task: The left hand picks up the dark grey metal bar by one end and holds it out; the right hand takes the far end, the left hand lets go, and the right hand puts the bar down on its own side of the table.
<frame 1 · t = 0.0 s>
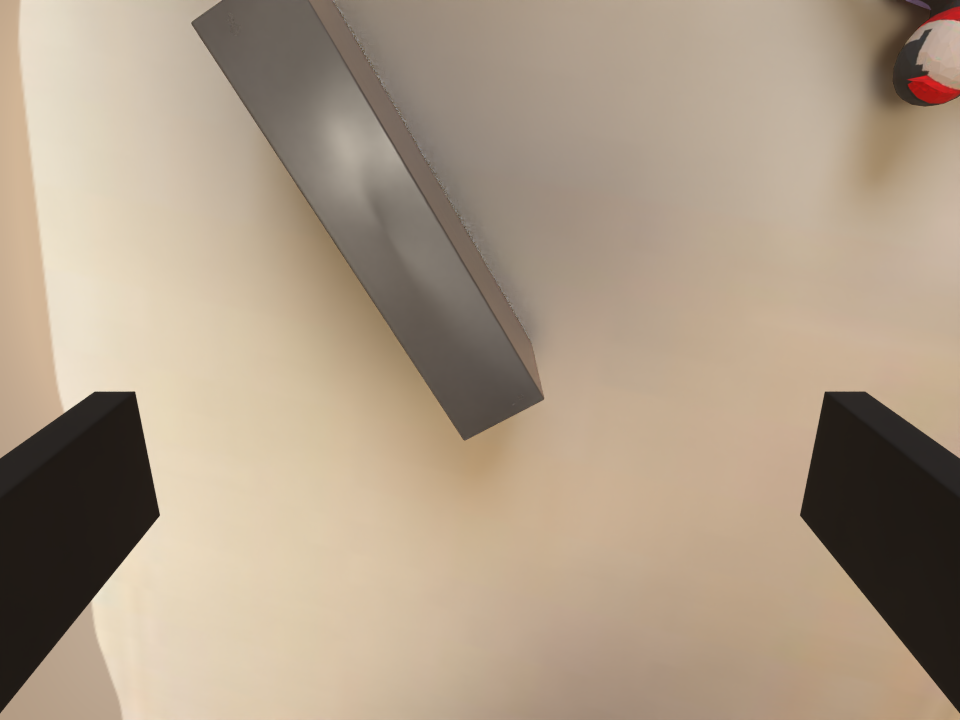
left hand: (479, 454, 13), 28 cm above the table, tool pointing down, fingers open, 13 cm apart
bar: (405, 206, 38), on the table
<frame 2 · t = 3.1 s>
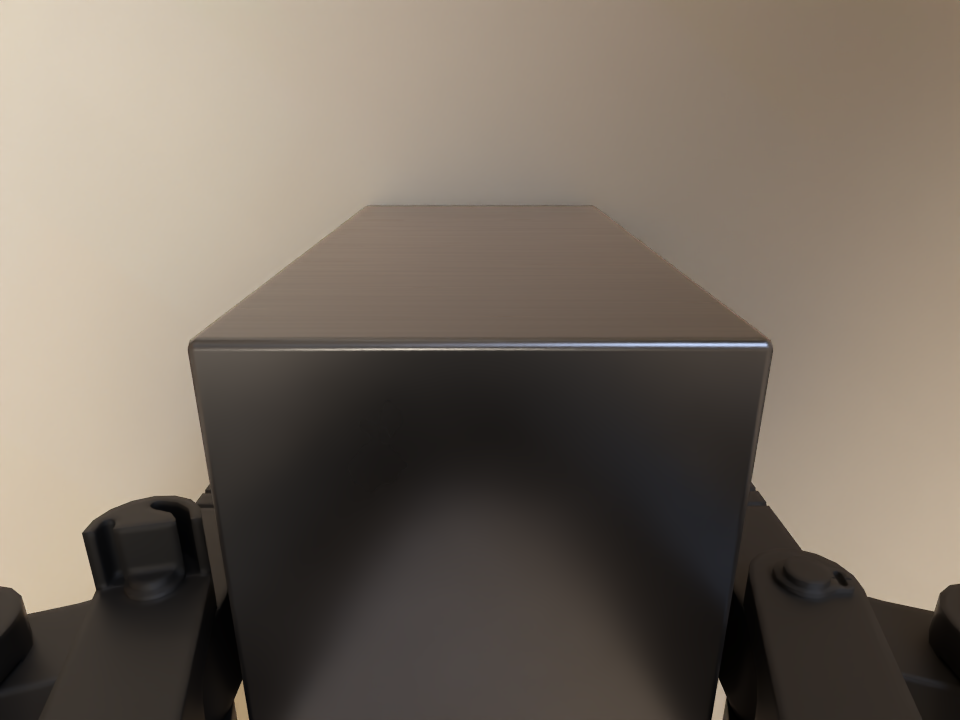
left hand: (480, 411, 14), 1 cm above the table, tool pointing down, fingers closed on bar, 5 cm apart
bar: (480, 637, 17), on the table, touching left hand
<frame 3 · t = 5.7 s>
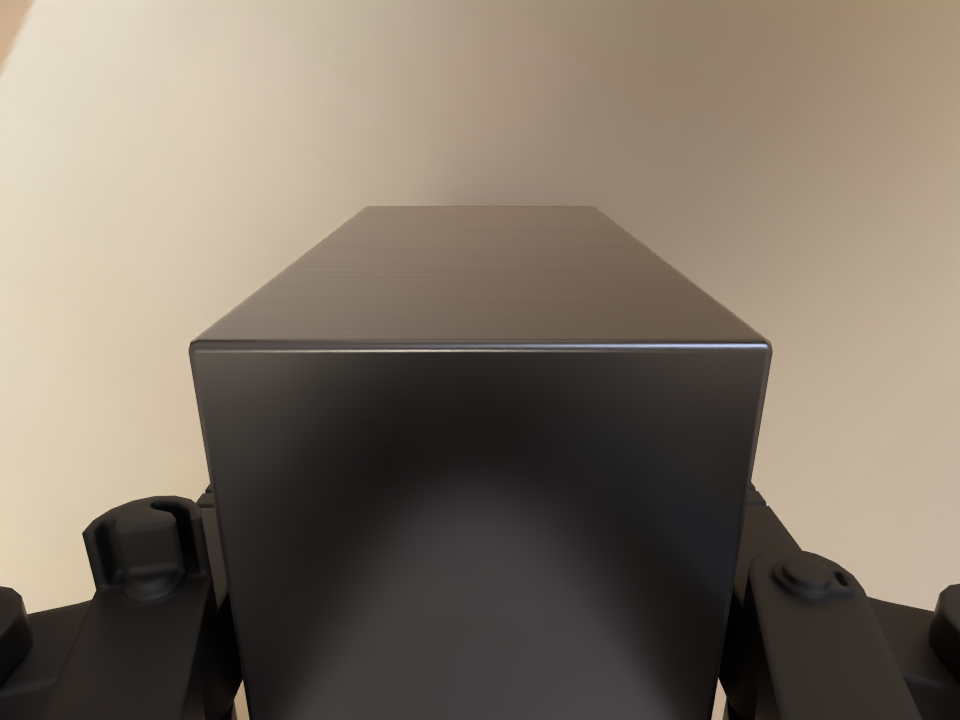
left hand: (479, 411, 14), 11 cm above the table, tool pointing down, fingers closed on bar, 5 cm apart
bar: (480, 637, 17), point 10 cm above the table, touching left hand
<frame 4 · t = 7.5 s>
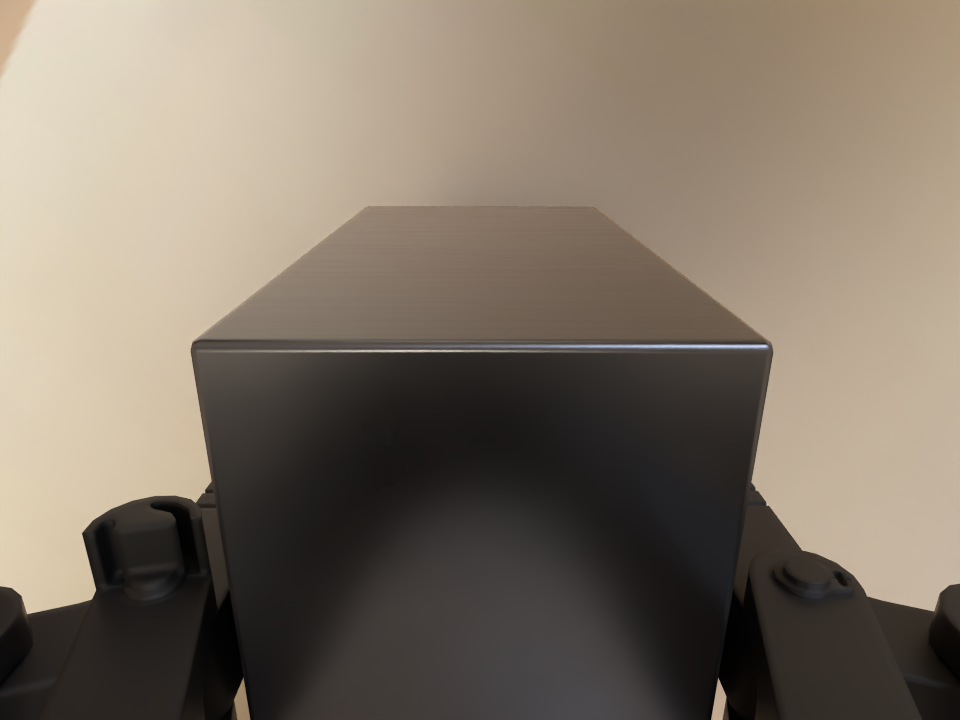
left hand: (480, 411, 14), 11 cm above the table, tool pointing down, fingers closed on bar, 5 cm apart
bar: (479, 637, 17), point 10 cm above the table, touching left hand, right hand
when the left hand's fingers open (11 cm above the table, at t = 8.4 s): bar stays where it is, held by the right hand.
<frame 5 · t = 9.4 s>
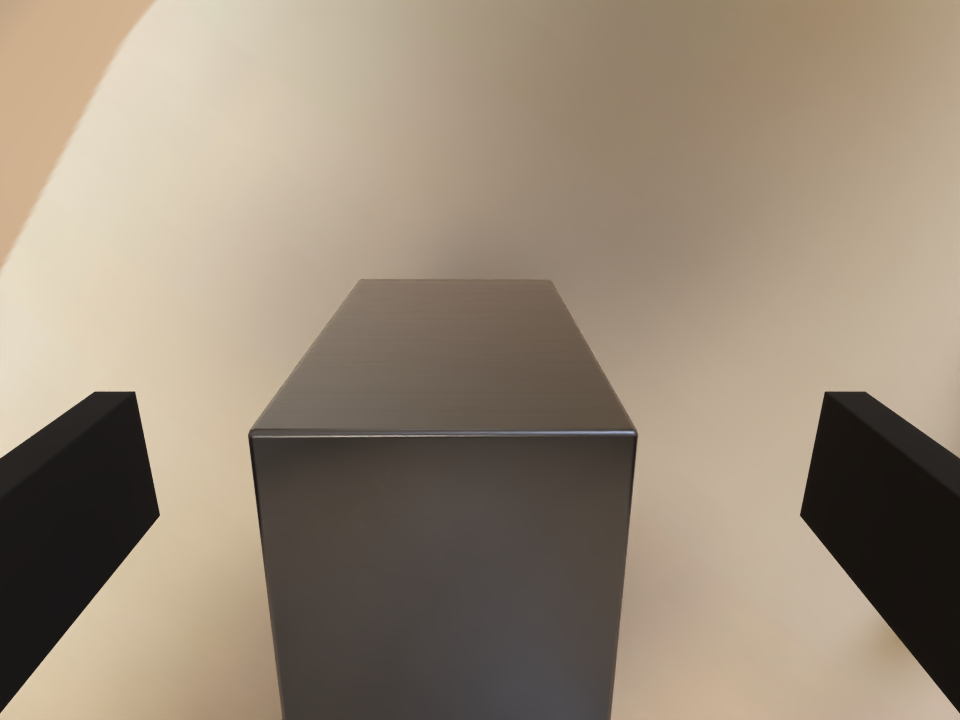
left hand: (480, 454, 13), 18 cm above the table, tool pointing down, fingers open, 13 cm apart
bar: (457, 643, 20), point 13 cm above the table, touching right hand
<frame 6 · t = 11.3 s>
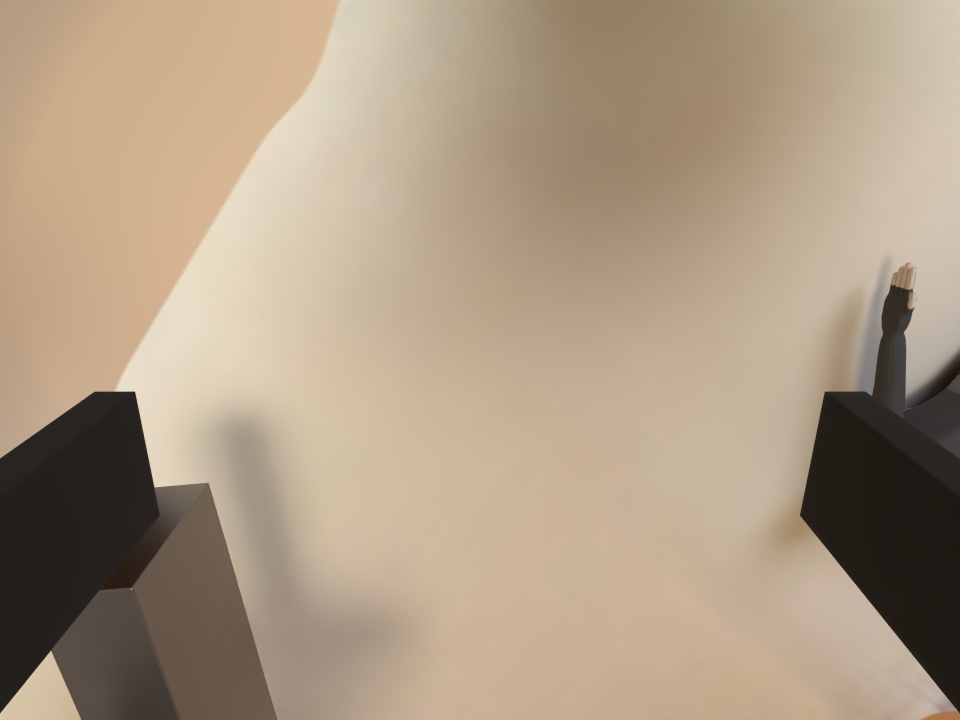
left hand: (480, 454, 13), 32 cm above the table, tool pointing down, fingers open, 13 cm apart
bar: (216, 640, 41), point 11 cm above the table, touching right hand
when the right hand's fingers open (5 cm above the table, at t = 12.6 s): bar drops 2 cm, on the table.
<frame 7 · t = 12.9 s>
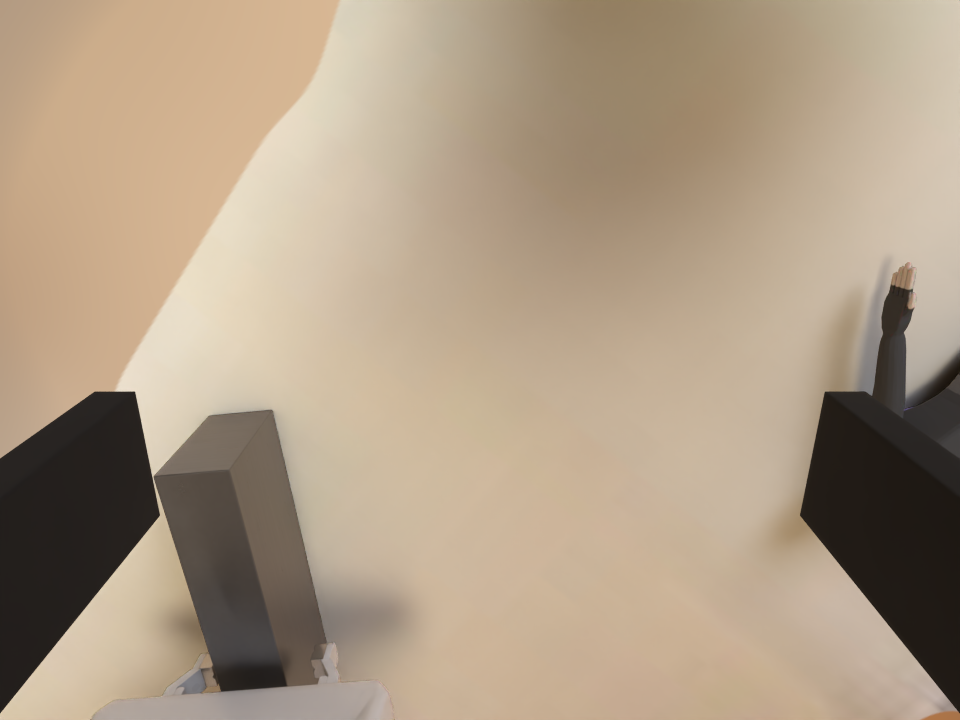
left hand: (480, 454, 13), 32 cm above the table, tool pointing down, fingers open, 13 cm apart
bar: (272, 540, 52), on the table
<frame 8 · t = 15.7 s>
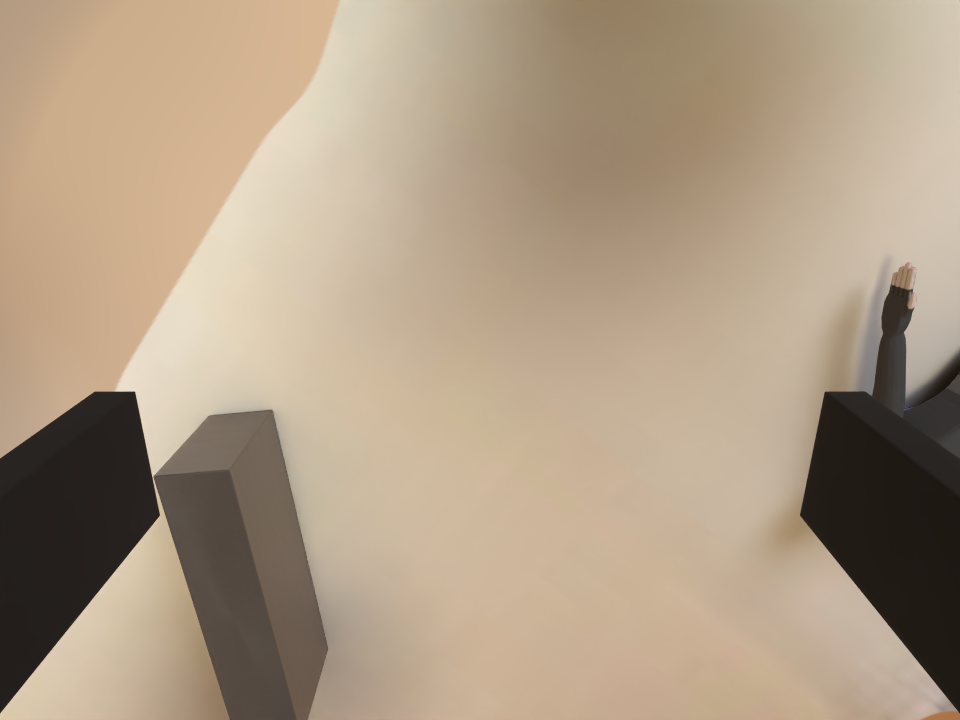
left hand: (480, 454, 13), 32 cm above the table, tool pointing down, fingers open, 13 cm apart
bar: (272, 540, 52), on the table
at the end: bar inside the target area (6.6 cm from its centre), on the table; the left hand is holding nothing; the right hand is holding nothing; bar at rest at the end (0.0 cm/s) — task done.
